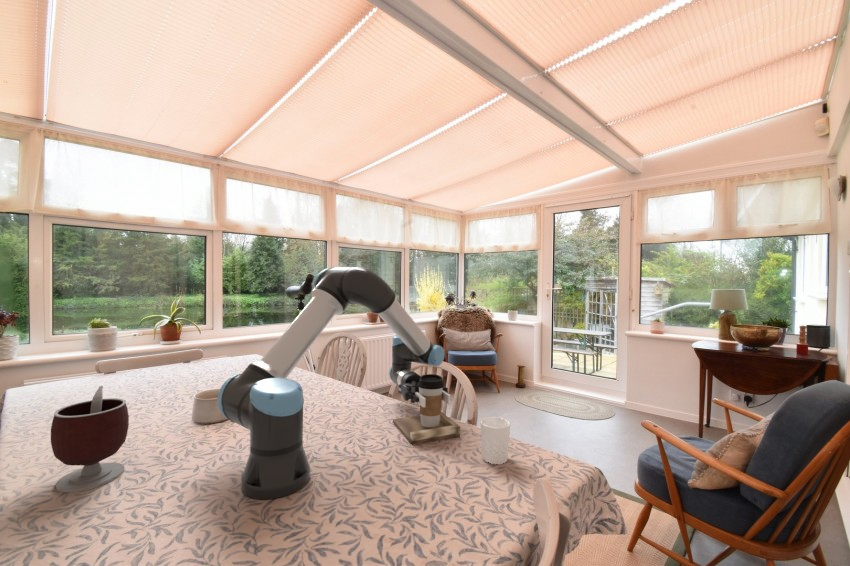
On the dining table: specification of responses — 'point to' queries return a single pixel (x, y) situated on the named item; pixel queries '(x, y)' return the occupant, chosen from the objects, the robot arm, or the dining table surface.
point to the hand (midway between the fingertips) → (437, 401)
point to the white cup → (495, 439)
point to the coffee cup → (431, 399)
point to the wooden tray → (427, 429)
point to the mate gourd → (89, 441)
